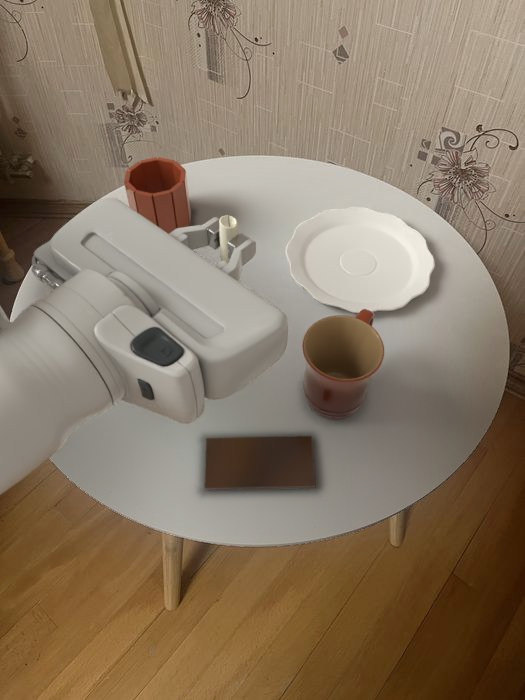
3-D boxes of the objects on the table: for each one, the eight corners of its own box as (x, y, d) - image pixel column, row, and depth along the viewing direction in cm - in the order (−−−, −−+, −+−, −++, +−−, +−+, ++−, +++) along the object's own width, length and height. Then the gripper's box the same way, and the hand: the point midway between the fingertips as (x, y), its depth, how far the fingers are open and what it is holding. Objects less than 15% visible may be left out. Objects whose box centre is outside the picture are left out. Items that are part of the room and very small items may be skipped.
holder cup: (131, 239, 84) (121, 196, 78) (137, 200, 90) (128, 157, 83) (189, 239, 85) (183, 196, 78) (192, 200, 90) (186, 156, 83)
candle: (264, 321, 58) (268, 199, 45) (251, 362, 55) (252, 244, 42) (215, 312, 58) (205, 189, 46) (200, 351, 55) (185, 231, 43)
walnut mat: (205, 490, 62) (204, 487, 61) (206, 441, 65) (206, 437, 64) (314, 488, 62) (315, 485, 61) (310, 438, 65) (311, 435, 65)
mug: (349, 441, 65) (363, 394, 57) (283, 407, 68) (287, 357, 59) (391, 367, 71) (408, 315, 63) (329, 338, 74) (338, 285, 66)
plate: (461, 272, 81) (464, 264, 80) (356, 344, 73) (358, 336, 72) (359, 197, 91) (360, 189, 89) (257, 254, 83) (257, 246, 81)
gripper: (31, 289, 47) (156, 208, 53) (206, 439, 39) (329, 323, 45) (4, 232, 42) (146, 149, 48) (199, 390, 34) (339, 268, 40)
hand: (236, 235), depth 47 cm, fingers closed on candle
